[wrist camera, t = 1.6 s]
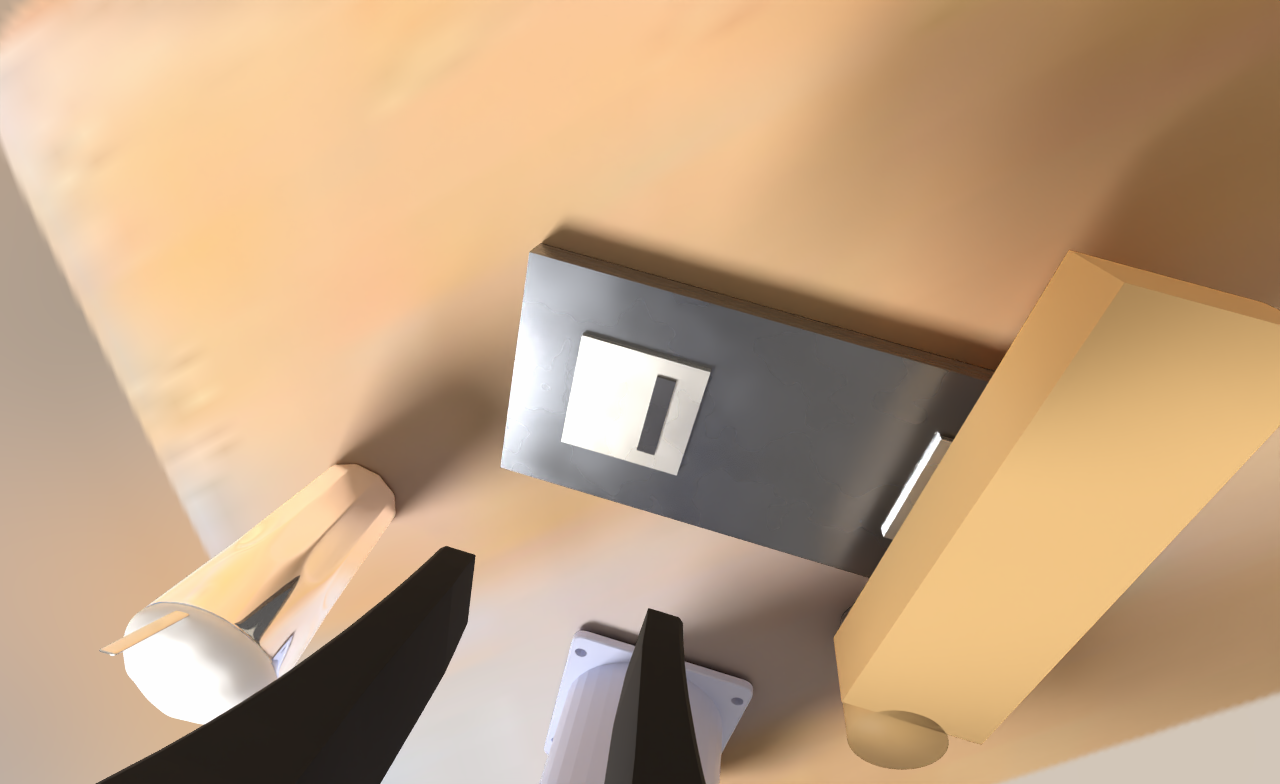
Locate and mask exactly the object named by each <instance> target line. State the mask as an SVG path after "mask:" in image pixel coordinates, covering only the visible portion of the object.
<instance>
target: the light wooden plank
mask: <svg viewBox="0 0 1280 784" xmlns="http://www.w3.org/2000/svg"><path fill="white" fill-rule="evenodd" d="M1279 426H1280V310H1278V309H1276V308H1274V307H1272V306H1269V305H1267V304H1265V303H1263V302H1259V301H1256V300H1252V299H1248V298H1245V297H1241V296H1237V295H1234V294H1230V293H1226V292H1223V291H1219V290H1215V289H1212V288H1208V287H1204V286H1201V285H1197V284H1193V283H1189V282H1186V281H1182V280H1178V279H1175V278H1171V277H1167V276H1164V275H1160V274H1156V273H1153V272H1149V271H1145V270H1142V269H1138V268H1134V267H1131V266H1127V265H1123V264H1120V263H1116V262H1112V261H1109V260H1105V259H1101V258H1097V257H1094V256H1090V255H1086V254H1083V253H1079V252H1075V251H1072V250H1069V251H1068V252H1067V254H1066V256H1065V257H1064V259H1063V261H1062V262H1061V264H1060V266H1059V267H1058V269H1057V270H1056V272H1055V274H1054V275H1053V277H1052V279H1051V280H1050V282H1049V284H1048V285H1047V287H1046V289H1045V290H1044V292H1043V294H1042V295H1041V297H1040V298H1039V300H1038V302H1037V303H1036V305H1035V307H1034V308H1033V310H1032V312H1031V313H1030V315H1029V317H1028V318H1027V320H1026V322H1025V323H1024V325H1023V326H1022V328H1021V330H1020V331H1019V333H1018V335H1017V336H1016V338H1015V340H1014V341H1013V343H1012V345H1011V346H1010V348H1009V350H1008V351H1007V353H1006V355H1005V356H1004V358H1003V359H1002V361H1001V363H1000V364H999V366H998V368H997V369H996V371H995V373H994V374H993V376H992V378H991V379H990V381H989V383H988V384H987V386H986V387H985V389H984V391H983V392H982V394H981V396H980V397H979V399H978V401H977V402H976V404H975V406H974V407H973V409H972V411H971V412H970V414H969V415H968V417H967V419H966V420H965V422H964V424H963V425H962V427H961V429H960V430H959V432H958V434H957V435H956V437H955V439H954V440H953V442H952V443H951V445H950V447H949V448H948V450H947V452H946V453H945V455H944V457H943V458H942V460H941V462H940V463H939V465H938V467H937V468H936V470H935V471H934V473H933V475H932V476H931V478H930V480H929V481H928V483H927V485H926V486H925V488H924V490H923V491H922V493H921V495H920V496H919V498H918V500H917V501H916V503H915V504H914V506H913V508H912V509H911V511H910V513H909V514H908V516H907V518H906V519H905V521H904V523H903V524H902V526H901V528H900V529H899V531H898V532H897V534H896V536H895V537H894V539H893V541H892V542H891V544H890V546H889V547H888V549H887V551H886V552H885V554H884V556H883V557H882V559H881V560H880V562H879V564H878V565H877V567H876V569H875V570H874V572H873V574H872V575H871V577H870V579H869V580H868V582H867V584H866V585H865V587H864V588H863V590H862V592H861V593H860V595H859V597H858V598H857V600H856V602H855V603H854V605H853V607H852V608H851V610H850V612H849V613H848V615H847V617H846V618H845V620H844V621H843V623H842V625H841V626H840V628H839V630H838V631H837V633H836V635H835V636H834V646H835V653H836V661H837V669H838V677H839V685H840V693H841V701H842V702H843V709H844V717H845V725H846V732H847V740H848V744H849V746H850V748H851V749H852V751H853V752H854V753H855V754H856V755H857V756H859V757H860V758H861V759H863V760H865V761H867V762H869V763H871V764H874V765H876V766H880V767H884V768H889V769H901V770H903V769H915V768H920V767H924V766H927V765H930V764H932V763H934V762H936V761H937V760H939V759H940V758H941V757H942V756H943V755H944V754H945V752H946V751H947V749H948V736H947V735H951V736H954V737H957V738H960V739H964V740H967V741H970V742H973V743H977V744H980V745H982V744H983V742H984V741H985V740H986V739H987V738H988V737H989V736H990V735H991V734H992V733H993V732H994V731H995V730H996V729H997V727H998V726H999V725H1000V724H1001V723H1002V722H1003V721H1004V720H1005V719H1006V718H1007V717H1008V716H1009V715H1010V714H1011V712H1012V711H1013V710H1014V709H1015V708H1016V707H1017V706H1018V705H1019V704H1020V703H1021V702H1022V701H1023V700H1024V699H1025V698H1026V696H1027V695H1028V694H1029V693H1030V692H1031V691H1032V690H1033V689H1034V688H1035V687H1036V686H1037V685H1038V684H1039V683H1040V681H1041V680H1042V679H1043V678H1044V677H1045V676H1046V675H1047V674H1048V673H1049V672H1050V671H1051V670H1052V669H1053V668H1054V667H1055V665H1056V664H1057V663H1058V662H1059V661H1060V660H1061V659H1062V658H1063V657H1064V656H1065V655H1066V654H1067V653H1068V652H1069V650H1070V649H1071V648H1072V647H1073V646H1074V645H1075V644H1076V643H1077V642H1078V641H1079V640H1080V639H1081V638H1082V637H1083V635H1084V634H1085V633H1086V632H1087V631H1088V630H1089V629H1090V628H1091V627H1092V626H1093V625H1094V624H1095V623H1096V622H1097V621H1098V619H1099V618H1100V617H1101V616H1102V615H1103V614H1104V613H1105V612H1106V611H1107V610H1108V609H1109V608H1110V607H1111V606H1112V604H1113V603H1114V602H1115V601H1116V600H1117V599H1118V598H1119V597H1120V596H1121V595H1122V594H1123V593H1124V592H1125V591H1126V590H1127V588H1128V587H1129V586H1130V585H1131V584H1132V583H1133V582H1134V581H1135V580H1136V579H1137V578H1138V577H1139V576H1140V575H1141V573H1142V572H1143V571H1144V570H1145V569H1146V568H1147V567H1148V566H1149V565H1150V564H1151V563H1152V562H1153V561H1154V560H1155V558H1156V557H1157V556H1158V555H1159V554H1160V553H1161V552H1162V551H1163V550H1164V549H1165V548H1166V547H1167V546H1168V545H1169V544H1170V542H1171V541H1172V540H1173V539H1174V538H1175V537H1176V536H1177V535H1178V534H1179V533H1180V532H1181V531H1182V530H1183V529H1184V527H1185V526H1186V525H1187V524H1188V523H1189V522H1190V521H1191V520H1192V519H1193V518H1194V517H1195V516H1196V515H1197V514H1198V512H1199V511H1200V510H1201V509H1202V508H1203V507H1204V506H1205V505H1206V504H1207V503H1208V502H1209V501H1210V500H1211V499H1212V498H1213V496H1214V495H1215V494H1216V493H1217V492H1218V491H1219V490H1220V489H1221V488H1222V487H1223V486H1224V485H1225V484H1226V483H1227V481H1228V480H1229V479H1230V478H1231V477H1232V476H1233V475H1234V474H1235V473H1236V472H1237V471H1238V470H1239V469H1240V468H1241V467H1242V465H1243V464H1244V463H1245V462H1246V461H1247V460H1248V459H1249V458H1250V457H1251V456H1252V455H1253V454H1254V453H1255V452H1256V450H1257V449H1258V448H1259V447H1260V446H1261V445H1262V444H1263V443H1264V442H1265V441H1266V440H1267V439H1268V438H1269V437H1270V435H1271V434H1272V433H1273V432H1274V431H1275V430H1276V429H1277V428H1278V427H1279Z"/></svg>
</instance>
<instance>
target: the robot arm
mask: <svg viewBox="0 0 1280 784" xmlns="http://www.w3.org/2000/svg"><path fill="white" fill-rule="evenodd" d="M474 564H475V555H474V554H470V553H467V552H464V551H461V550H457V549H454V548H451V547H448V546H445V547H443V548H440V549H439V550H438V551H437V552H436V553H435V554H434V555H433V556H432V557H431V558H430V559H429V560H428V561H427V562H425V563H424V564H423V565H422V566H421V567H420V568H419V569H418V570H417V571H416V572H414V573H413V574H412V575H411V576H410V577H409V578H408V579H407V580H405V581H404V582H403V583H402V584H401V585H400V586H398V587H397V588H396V589H395V590H394V591H393V592H391V593H390V594H389V595H388V596H387V597H386V598H384V599H383V600H382V601H381V602H379V603H378V604H377V605H376V606H374V607H373V608H372V609H371V610H370V611H368V612H367V613H366V614H365V615H363V616H362V617H361V618H360V619H358V620H357V621H356V622H355V623H353V624H352V625H351V626H350V627H348V628H347V629H346V630H344V631H343V632H342V633H340V634H339V635H338V636H336V637H335V638H334V639H332V640H331V641H330V642H328V643H327V644H325V645H324V646H323V647H321V648H320V649H319V650H317V651H316V652H315V653H313V654H312V655H311V656H309V657H308V658H306V659H305V660H304V661H302V662H301V663H300V664H298V665H297V666H295V667H294V668H292V669H291V670H289V671H288V672H286V673H285V674H284V675H282V676H281V677H279V678H278V679H276V680H275V681H273V682H272V683H270V684H269V685H267V686H266V687H264V688H263V689H261V690H259V691H258V692H256V693H255V694H253V695H252V696H250V697H249V698H247V699H245V700H244V701H242V702H241V703H239V704H238V705H236V706H234V707H233V708H231V709H229V710H228V711H226V712H224V713H223V714H221V715H219V716H218V717H216V718H214V719H213V720H211V721H209V722H208V723H206V724H204V725H203V726H201V727H200V728H198V729H196V730H194V731H193V732H191V733H189V734H187V735H186V736H184V737H182V738H180V739H179V740H177V741H175V742H173V743H172V744H170V745H168V746H166V747H164V748H163V749H161V750H159V751H157V752H155V753H153V754H151V755H150V756H148V757H146V758H144V759H142V760H140V761H138V762H136V763H134V764H132V765H130V766H129V767H127V768H125V769H123V770H121V771H119V772H117V773H115V774H113V775H111V776H110V777H108V778H106V779H104V780H102V781H100V782H98V783H96V784H380V783H381V781H382V780H383V778H384V776H385V775H386V773H387V771H388V770H389V768H390V766H391V764H392V763H393V761H394V759H395V758H396V756H397V754H398V753H399V751H400V749H401V747H402V746H403V744H404V742H405V741H406V739H407V737H408V735H409V734H410V732H411V730H412V729H413V727H414V725H415V724H416V722H417V720H418V718H419V717H420V715H421V713H422V712H423V710H424V708H425V706H426V705H427V703H428V701H429V700H430V698H431V696H432V694H433V693H434V691H435V689H436V687H437V686H438V684H439V682H440V681H441V679H442V677H443V675H444V673H445V671H446V669H447V667H448V665H449V663H450V661H451V658H452V656H453V654H454V652H455V650H456V648H457V645H458V643H459V641H460V639H461V636H462V634H463V632H464V630H465V627H466V625H467V622H468V614H469V606H470V597H471V589H472V581H473V572H474ZM752 696H753V687H752V685H751V684H750V683H749V682H748V681H746V680H743V679H740V678H737V677H734V676H730V675H727V674H724V673H721V672H717V671H714V670H711V669H708V668H705V667H701V666H698V665H695V664H692V663H688V662H685V660H684V648H683V623H682V621H681V620H680V618H679V617H676V616H673V615H669V614H666V613H663V612H660V611H656V610H653V609H650V608H648V611H647V614H646V616H645V619H644V622H643V625H642V628H641V631H640V634H639V637H638V639H637V642H636V645H635V646H633V645H630V644H627V643H624V642H621V641H617V640H614V639H611V638H608V637H604V636H601V635H598V634H595V633H591V632H588V631H578V632H576V633H575V634H574V637H573V640H572V643H571V647H570V651H569V655H568V658H567V662H566V666H565V670H564V674H563V678H562V681H561V685H560V689H559V693H558V697H557V700H556V704H555V708H554V712H553V716H552V720H551V723H550V727H549V731H548V735H547V739H546V742H545V746H544V750H545V752H546V753H547V754H548V757H547V761H546V764H545V767H544V770H543V773H542V777H541V780H540V783H539V784H719V782H720V765H721V754H722V752H723V750H724V748H725V746H726V745H727V743H728V741H729V739H730V737H731V735H732V733H733V732H734V730H735V728H736V726H737V724H738V722H739V721H740V719H741V717H742V715H743V713H744V711H745V709H746V708H747V706H748V704H749V702H750V700H751V698H752Z"/></svg>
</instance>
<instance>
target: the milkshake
mask: <svg viewBox="0 0 1280 784" xmlns="http://www.w3.org/2000/svg"><path fill="white" fill-rule="evenodd" d="M395 514H396V510H395V496H394V493H393V492H392V491H391V490H390V488H389V487H388V486H387V485H386V483H385V482H384V481H383V480H382V478H381V477H380V476H379V475H377V474H375V473H373V472H371V471H369V470H367V469H365V468H363V467H361V466H359V465H357V464H344V465H333V466H332V467H330V468H329V469H328V470H326V471H325V472H324V473H322V474H321V475H320V476H319V477H317V478H316V479H315V480H313V481H312V482H311V483H310V484H308V485H307V486H306V487H304V488H303V489H302V490H301V491H299V492H298V493H297V494H295V495H294V496H293V497H292V498H290V499H289V500H288V501H287V502H285V503H284V504H283V505H281V506H280V507H279V508H278V509H276V510H275V511H274V512H272V513H271V514H270V515H269V516H267V517H266V518H265V519H263V520H262V521H261V522H260V523H258V524H257V525H256V526H254V527H253V528H252V529H251V530H249V531H248V532H247V533H245V534H244V535H243V536H242V537H240V538H239V539H238V540H236V541H235V542H234V543H232V544H231V545H230V546H228V547H227V548H226V549H224V550H223V551H221V552H220V553H219V554H217V555H216V556H215V557H213V558H212V559H210V560H209V561H208V562H206V563H205V564H204V565H202V566H201V567H200V568H198V569H197V570H195V571H194V572H193V573H191V574H190V575H189V576H187V577H186V578H185V579H183V580H182V581H181V582H179V583H178V584H176V585H175V586H174V587H172V588H171V589H170V590H168V591H167V592H165V593H164V594H163V595H161V596H160V597H159V598H157V599H156V600H155V601H153V602H152V603H151V604H149V605H148V606H147V607H145V608H144V609H143V610H141V611H140V612H138V613H137V614H136V615H135V616H134V617H133V618H132V619H131V621H130V623H129V624H128V626H127V628H126V631H125V634H124V637H123V638H121V639H119V640H117V641H115V642H113V643H111V644H109V645H107V646H105V647H103V648H102V649H100V650H99V651H100V652H103V653H107V654H110V655H117V654H119V653H121V652H123V655H124V662H125V669H126V671H127V674H128V675H129V677H130V678H131V679H132V680H133V681H134V682H135V683H136V685H137V686H138V688H139V689H140V690H141V692H142V693H143V694H144V695H145V697H146V698H147V699H148V700H149V701H150V702H151V703H152V704H153V705H154V706H155V707H157V708H158V709H159V710H160V711H162V712H163V713H164V714H166V715H168V716H170V717H173V718H177V719H182V720H186V721H190V722H194V723H198V724H206V723H208V722H209V721H211V720H213V719H214V718H216V717H218V716H219V715H221V714H223V713H224V712H226V711H228V710H229V709H231V708H233V707H234V706H236V705H238V704H239V703H241V702H242V701H244V700H245V699H247V698H249V697H250V696H252V695H253V694H255V693H256V692H258V691H259V690H261V689H263V688H264V687H266V686H267V685H269V684H270V683H272V682H273V681H275V680H276V679H278V678H279V677H281V676H282V675H284V674H285V673H286V672H288V671H289V670H291V669H292V668H293V667H294V666H295V664H296V663H297V661H298V660H299V658H300V657H301V655H302V653H303V652H304V650H305V649H306V647H307V646H308V644H309V643H310V641H311V639H312V638H313V636H314V635H315V633H316V632H317V630H318V628H319V627H320V625H321V624H322V622H323V621H324V619H325V618H326V616H327V614H328V613H329V611H330V610H331V608H332V607H333V605H334V604H335V603H336V601H337V600H338V598H339V597H340V595H341V594H342V592H343V591H344V589H345V588H346V586H347V585H348V584H349V582H350V581H351V579H352V578H353V576H354V575H355V573H356V572H357V570H358V569H359V567H360V566H361V565H362V563H363V562H364V560H365V559H366V557H367V556H368V554H369V553H370V551H371V550H372V549H373V547H374V546H375V544H376V543H377V541H378V540H379V538H380V537H381V535H382V534H383V532H384V531H385V530H386V528H387V527H388V525H389V524H390V522H391V521H392V519H393V518H394V516H395Z"/></svg>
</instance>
